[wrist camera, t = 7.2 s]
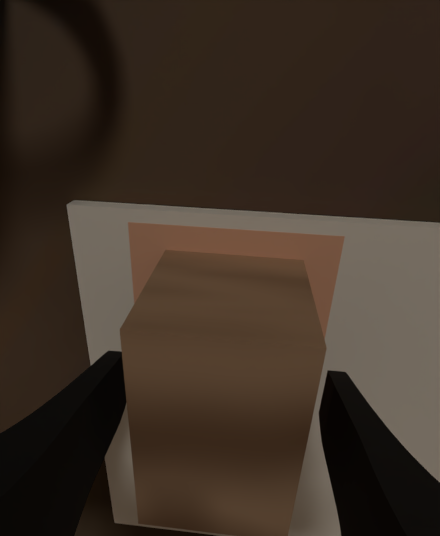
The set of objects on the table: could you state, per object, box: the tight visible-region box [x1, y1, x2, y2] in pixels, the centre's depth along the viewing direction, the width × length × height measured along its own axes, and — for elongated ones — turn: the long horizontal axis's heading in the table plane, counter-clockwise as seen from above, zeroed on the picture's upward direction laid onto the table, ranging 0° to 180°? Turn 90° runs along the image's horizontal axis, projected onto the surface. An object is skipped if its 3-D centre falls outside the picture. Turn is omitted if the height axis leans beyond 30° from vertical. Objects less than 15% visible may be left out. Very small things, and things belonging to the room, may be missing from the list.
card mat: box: [67, 200, 440, 536], centre depth 17 cm, size 20×19×1 cm
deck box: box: [120, 250, 327, 536], centre depth 13 cm, size 8×5×5 cm, turn 178°
